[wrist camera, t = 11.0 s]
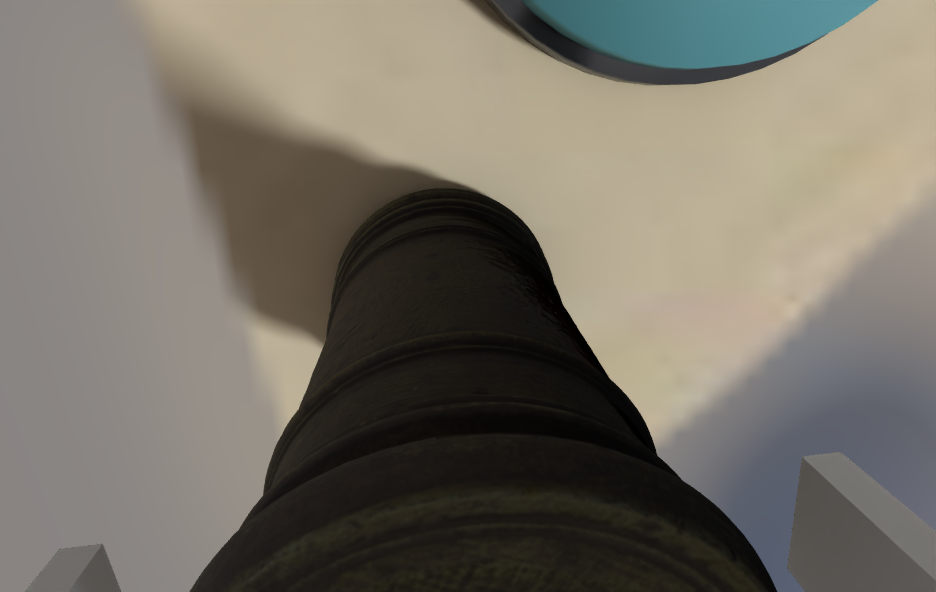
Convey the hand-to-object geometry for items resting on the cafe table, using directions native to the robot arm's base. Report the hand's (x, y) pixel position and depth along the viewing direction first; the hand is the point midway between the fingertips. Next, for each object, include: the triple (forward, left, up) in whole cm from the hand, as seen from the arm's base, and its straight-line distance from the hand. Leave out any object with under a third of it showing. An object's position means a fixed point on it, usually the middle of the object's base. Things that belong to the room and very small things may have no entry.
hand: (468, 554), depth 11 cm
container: (0, 0, -15) cm, 15 cm away
